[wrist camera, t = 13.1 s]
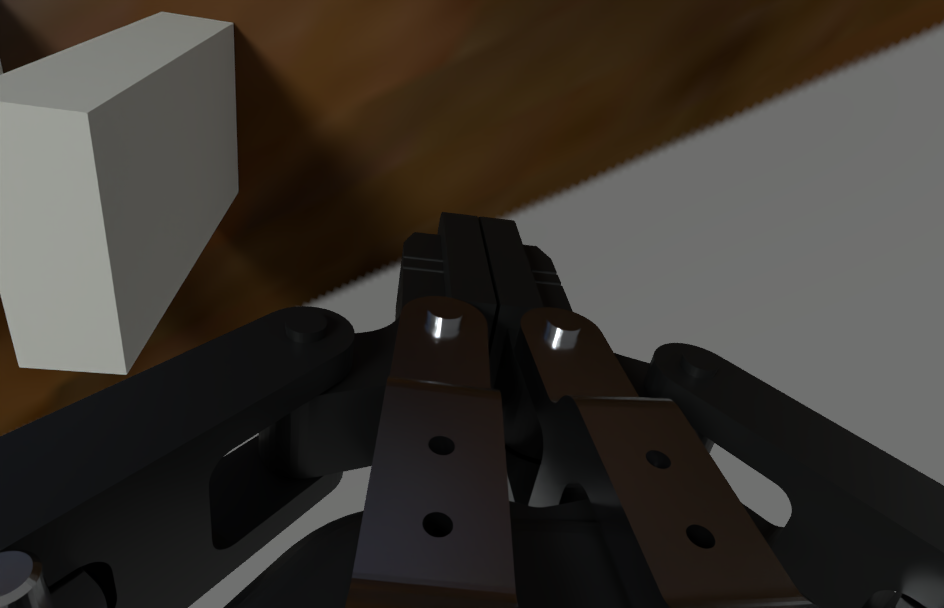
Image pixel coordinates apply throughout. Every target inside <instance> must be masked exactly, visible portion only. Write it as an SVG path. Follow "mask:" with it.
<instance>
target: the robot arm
mask: <svg viewBox="0 0 944 608" xmlns="http://www.w3.org/2000/svg"><path fill="white" fill-rule="evenodd" d="M257 433H259V435H258V436H257V437H255V438H253V439H252V440H250V441H248V442H247V443H245V444H244V445H242V446H240V447H239V448H237V449H236V450H234V451H233V452H231V453H229V454H228V455H226V454H227V453H228V452H229V451H231V450H232V449H233V448H235V447H237V446H238V445H240V444H242V443H243V442H245V441H246V440H248V439H249V438H251V437H253V436H254V435H256V434H257ZM714 443H716V444H717V445H719V446H720V447H722V448H723V449H725V450H726V451H728V452H729V453H731V454H732V455H734V456H735V457H737V458H738V459H740V460H741V461H743V462H744V463H746V464H747V465H749V466H750V467H752V468H753V469H755V470H756V471H758V472H759V473H761V474H762V475H764V476H765V477H767V478H768V479H770V480H771V481H773V482H774V483H775V484H777V485H778V486H779V487H780V488H781V489H782V490H783V491H784V492H785V493H786V494H787V496H788V498H789V500H790V502H791V506H792V514H791V517H790V519H789V521H788V522H787V524H786V526H785V527H778V526H775V525H773V524H771V523H769V522H768V521H766V520H765V519H764V518H762V517H761V516H759V515H758V514H756V513H755V512H754V511H752V510H751V509H749V508H748V507H747V506H745V505H743V504H742V503H741V502H740V501H739V499H738V497H737V496H736V494H735V493H734V491H733V490H732V488H731V486H730V485H729V483H728V482H727V480H726V479H725V477H724V476H723V474H722V473H721V471H720V469H719V468H718V466H717V465H716V463H715V462H714V460H713V459H712V457H711V456H710V454H709V453H710V451H711V449H712V447H713V444H714ZM225 455H226V456H225ZM224 456H225V457H224ZM368 466H372V467H371V473H370V479H369V484H368V490H367V495H366V501H365V506H364V511H361V512H357V513H354V514H350V515H347V516H345V517H342V518H340V519H337V520H335V521H332V522H330V523H328V524H326V525H324V526H322V527H320V528H319V529H317V530H315V531H313V532H312V533H310V534H309V535H307V536H306V537H304V538H303V539H301V540H300V541H298V542H297V543H296V544H294V545H293V546H292V547H291V548H289V549H288V550H287V551H286V552H285V553H283V554H282V555H281V556H280V557H279V558H278V559H277V560H276V561H275V562H273V563H272V564H271V565H270V566H269V567H268V568H267V569H266V570H265V571H263V572H262V573H261V574H260V575H259V576H258V577H257V578H256V579H255V580H254V581H252V582H251V583H250V584H249V585H248V586H247V587H246V588H245V589H244V590H242V591H241V592H240V593H239V594H238V595H237V596H236V597H235V598H234V599H233V600H231V601H230V602H229V603H228V604H227V605H226V606H225V607H224V608H944V486H943V485H941V484H940V483H938V482H936V481H935V480H933V479H931V478H929V477H928V476H926V475H924V474H923V473H921V472H919V471H917V470H916V469H914V468H912V467H910V466H909V465H907V464H905V463H903V462H902V461H900V460H898V459H897V458H895V457H893V456H891V455H890V454H888V453H886V452H884V451H883V450H881V449H879V448H878V447H876V446H874V445H872V444H871V443H869V442H867V441H865V440H864V439H862V438H860V437H858V436H857V435H855V434H853V433H851V432H850V431H848V430H846V429H844V428H843V427H841V426H839V425H838V424H836V423H834V422H832V421H831V420H829V419H827V418H826V417H824V416H822V415H820V414H819V413H817V412H815V411H813V410H812V409H810V408H808V407H806V406H805V405H803V404H801V403H799V402H798V401H796V400H794V399H793V398H791V397H789V396H787V395H786V394H784V393H782V392H781V391H779V390H777V389H775V388H773V387H772V386H770V385H768V384H767V383H765V382H763V381H761V380H760V379H758V378H756V377H755V376H753V375H751V374H749V373H748V372H746V371H744V370H742V369H741V368H739V367H737V366H735V365H734V364H732V363H730V362H729V361H727V360H725V359H723V358H722V357H720V356H718V355H716V354H714V353H712V352H710V351H708V350H705V349H703V348H700V347H697V346H693V345H689V344H683V343H669V344H664V345H662V346H660V347H658V348H657V349H656V351H655V352H654V355H653V358H652V360H651V363H646V362H643V361H639V360H636V359H632V358H629V357H625V356H622V355H619V354H616V353H613V351H612V349H611V348H610V346H609V344H608V343H607V341H606V339H605V337H604V336H603V334H602V332H601V331H600V329H599V328H598V327H597V326H596V325H595V324H594V323H593V322H591V321H590V320H588V319H587V318H585V317H583V316H581V315H579V314H577V313H574V312H573V311H572V309H571V306H570V304H569V301H568V299H567V296H566V294H565V292H564V289H563V287H562V286H561V282H560V279H559V277H558V275H556V270H555V268H554V265H553V262H552V260H551V258H549V257H548V256H547V255H546V254H545V253H544V252H543V251H541V250H540V249H539V248H538V247H537V246H529V245H523V244H522V241H521V238H520V235H519V232H518V229H517V226H516V223H515V221H513V220H505V219H496V218H488V217H479V218H478V217H477V216H471V215H463V214H455V213H447V212H442V213H441V217H440V221H439V227H438V234H437V235H434V234H426V233H417V232H414V233H413V234H412V235H411V236H410V237H409V238H408V239H407V240H406V241H405V242H404V245H403V253H402V261H401V270H400V278H399V286H398V295H397V303H396V320H395V322H393V323H392V324H390V325H388V326H387V327H384V328H382V329H379V330H375V331H370V332H363V333H354V329H353V326H352V325H351V324H350V322H349V321H348V320H346V319H345V318H344V317H342V316H341V315H339V314H337V313H335V312H333V311H330V310H327V309H322V308H317V307H303V306H302V307H291V308H285V309H281V310H278V311H275V312H273V313H270V314H268V315H266V316H264V317H262V318H259V319H257V320H255V321H253V322H251V323H249V324H246V325H244V326H242V327H240V328H238V329H235V330H233V331H231V332H229V333H227V334H224V335H222V336H220V337H218V338H216V339H213V340H211V341H209V342H207V343H205V344H202V345H200V346H198V347H196V348H194V349H192V350H189V351H187V352H185V353H183V354H181V355H178V356H176V357H174V358H172V359H170V360H167V361H165V362H163V363H161V364H159V365H156V366H154V367H152V368H150V369H148V370H145V371H143V372H141V373H139V374H137V375H135V376H132V377H130V378H128V379H126V380H124V381H121V382H119V383H117V384H115V385H113V386H110V387H108V388H106V389H104V390H102V391H99V392H97V393H95V394H93V395H91V396H88V397H86V398H84V399H82V400H80V401H77V402H75V403H73V404H71V405H69V406H67V407H64V408H62V409H60V410H58V411H56V412H53V413H51V414H49V415H47V416H45V417H42V418H40V419H38V420H36V421H34V422H31V423H29V424H27V425H25V426H23V427H20V428H18V429H16V430H14V431H12V432H10V433H7V434H5V435H3V436H1V437H0V608H188V607H189V606H190V605H191V604H193V603H194V602H195V601H196V600H198V599H199V598H200V597H201V596H203V595H204V594H205V593H206V592H208V591H209V590H210V589H211V588H213V587H214V586H215V585H216V584H217V583H219V582H220V581H221V580H222V579H224V578H225V577H226V576H227V575H229V574H230V573H231V572H232V571H234V570H235V569H236V568H237V567H239V566H240V565H241V564H242V563H244V562H245V561H246V560H247V559H249V558H250V557H251V556H252V555H253V554H254V553H256V552H257V551H258V550H260V549H261V548H262V547H263V546H265V545H266V544H267V543H268V542H270V541H271V540H272V539H273V538H275V537H276V536H277V535H278V534H279V533H281V532H282V531H283V530H284V529H286V528H287V527H288V526H289V525H291V524H292V523H293V522H294V521H295V520H297V519H298V518H299V517H301V516H302V515H303V514H304V513H305V512H307V511H308V510H309V509H310V508H312V507H313V506H314V505H315V504H317V503H318V502H319V501H320V500H322V499H323V498H324V497H325V496H326V495H328V494H329V493H330V492H332V490H334V489H335V488H336V486H337V485H338V484H339V482H340V480H341V478H342V475H343V471H348V470H353V469H358V468H363V467H368ZM894 591H896V593H895V592H894Z"/></svg>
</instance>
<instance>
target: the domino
mask: <svg viewBox="0 0 944 608" xmlns="http://www.w3.org/2000/svg"><path fill="white" fill-rule="evenodd" d="M238 192H239V187H238V154H237V122H236V89H235V56H234V23H231V22H225V21H218V20H212V19H205V18H199V17H192V16H186V15H180V14H173V13H167V12H160V13H157V14H155V15H152V16H150V17H147V18H144V19H142V20H139V21H137V22H134V23H132V24H129V25H127V26H124V27H121V28H119V29H116V30H114V31H111V32H109V33H106V34H104V35H101V36H98V37H96V38H93V39H91V40H88V41H86V42H83V43H81V44H78V45H75V46H73V47H70V48H68V49H65V50H63V51H60V52H58V53H55V54H52V55H50V56H47V57H45V58H42V59H40V60H37V61H35V62H32V63H29V64H27V65H24V66H22V67H19V68H17V69H14V70H12V71H9V72H6V73H4V74H1V75H0V295H1V299H2V303H3V307H4V310H5V314H6V318H7V322H8V326H9V330H10V334H11V338H12V341H13V345H14V349H15V353H16V357H17V361H18V365H19V367H23V368H37V369H51V370H66V371H80V372H95V373H109V374H124V375H127V373H128V372H129V370H130V368H131V367H132V365H133V364H134V362H135V360H136V359H137V357H138V355H139V354H140V352H141V351H142V349H143V347H144V346H145V344H146V342H147V341H148V339H149V337H150V336H151V334H152V333H153V331H154V329H155V328H156V326H157V324H158V323H159V321H160V320H161V318H162V316H163V315H164V313H165V311H166V310H167V308H168V306H169V305H170V303H171V302H172V300H173V298H174V297H175V295H176V293H177V292H178V290H179V288H180V287H181V285H182V284H183V282H184V280H185V279H186V277H187V275H188V274H189V272H190V271H191V269H192V267H193V266H194V264H195V262H196V261H197V259H198V257H199V256H200V254H201V253H202V251H203V249H204V248H205V246H206V244H207V243H208V241H209V240H210V238H211V236H212V235H213V233H214V231H215V230H216V228H217V226H218V225H219V223H220V222H221V220H222V218H223V217H224V215H225V213H226V212H227V210H228V208H229V207H230V205H231V204H232V202H233V200H234V199H235V197H236V195H237V194H238Z"/></svg>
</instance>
